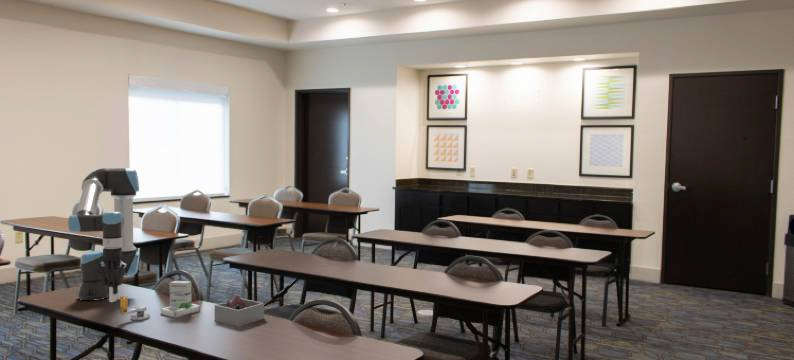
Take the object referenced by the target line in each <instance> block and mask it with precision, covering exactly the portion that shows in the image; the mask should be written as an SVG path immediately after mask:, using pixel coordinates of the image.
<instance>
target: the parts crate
mask: <svg viewBox="0 0 794 360" xmlns="http://www.w3.org/2000/svg"><path fill="white" fill-rule="evenodd" d="M240 298H241V297H240ZM241 300H243V301H244V303H245V304H246V308H244V309H241V306H242V305H241V304H238V305H239V306H240V310H237V309H232V308H228V307H226V306H227V305H225V304H224V302H221V303H217V304H214V321H215V322H219V323H221V324H222V323H223V324H227V325H230V326H234V327H238V328H239V327H242V326H244V325H248V324H252V323H254V322H257V321H260V320H261V321H262V320H264V319H265V303H264V302H261V301H256V300H251V299H247V298H241ZM232 301H233V299H232V300H231V299H230V301H229V302H230V303H231V302H232ZM238 301H240V300H238ZM234 303H235V301H234Z"/></svg>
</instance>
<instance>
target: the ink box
mask: <svg viewBox="0 0 794 360" xmlns="http://www.w3.org/2000/svg"><path fill="white" fill-rule="evenodd" d="M192 304H193V303H192V281H188V280H186V281H184V280H174V281H170V282H169V306H170V308H185V309H187V308H189V307H191V306H192Z"/></svg>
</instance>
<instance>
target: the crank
mask: <svg viewBox="0 0 794 360" xmlns="http://www.w3.org/2000/svg"><path fill="white" fill-rule="evenodd" d="M119 300H120V315H121V316H127V315H131V314H136V313H137V312H143V311H144V312H146V311H147V309H148V308H147V306H144V305H143V306H142V305H139V306H135V307H134V308H130V309H128V296H127V295H126V296H125V295H123V296H120V299H119Z"/></svg>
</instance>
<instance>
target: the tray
mask: <svg viewBox="0 0 794 360" xmlns="http://www.w3.org/2000/svg"><path fill="white" fill-rule="evenodd" d="M200 311H201V305H200V304H195V303H192V306H191V307H189V308H187V309H185V308H170V305H169V306H167V307H162V308H160V315H164V316H166V317H171V318H175V319H176V318H179V317H183V316H187V315H191V314H194V313H197V312H200ZM190 313H191V314H190Z"/></svg>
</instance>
